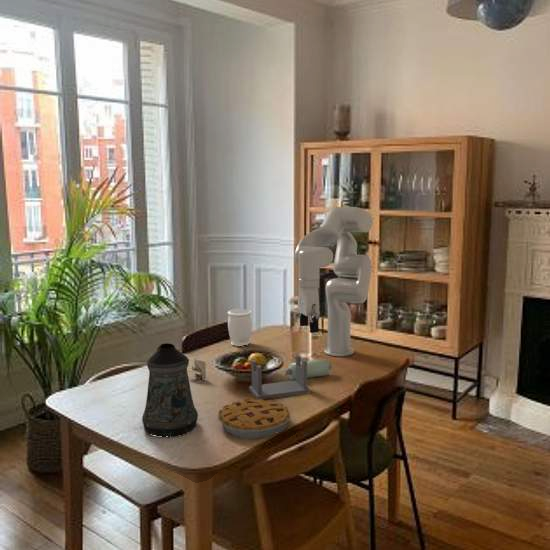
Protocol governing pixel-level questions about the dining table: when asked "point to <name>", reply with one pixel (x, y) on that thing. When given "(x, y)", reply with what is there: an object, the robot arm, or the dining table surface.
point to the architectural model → (199, 369)
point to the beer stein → (169, 394)
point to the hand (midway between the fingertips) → (308, 329)
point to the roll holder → (280, 387)
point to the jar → (239, 326)
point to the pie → (254, 418)
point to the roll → (311, 369)
